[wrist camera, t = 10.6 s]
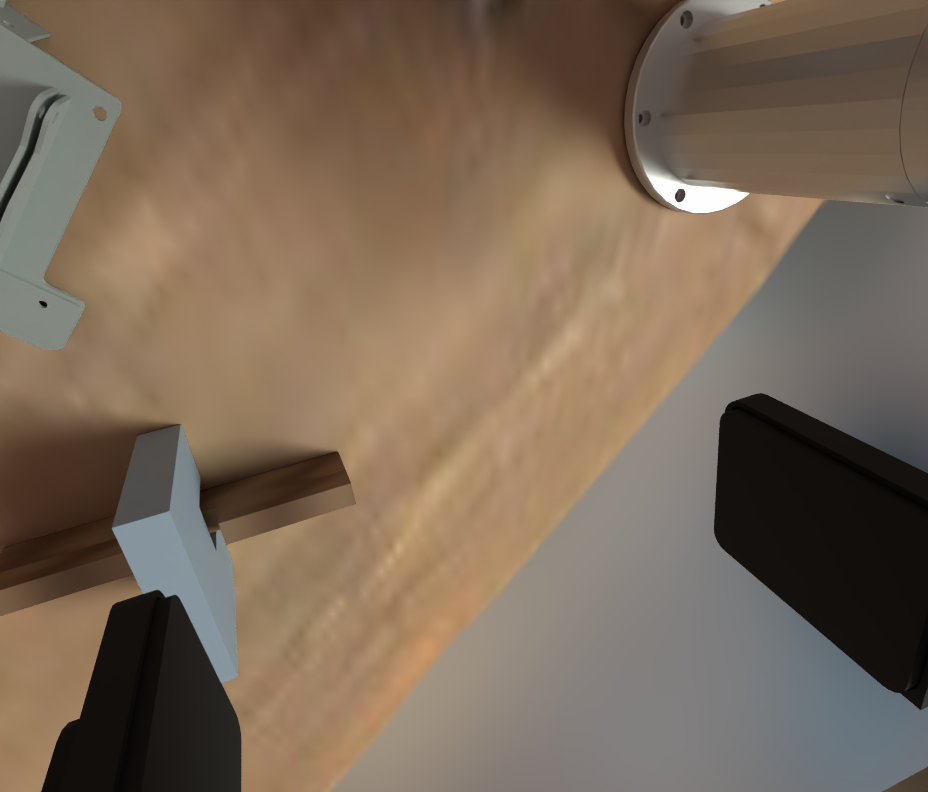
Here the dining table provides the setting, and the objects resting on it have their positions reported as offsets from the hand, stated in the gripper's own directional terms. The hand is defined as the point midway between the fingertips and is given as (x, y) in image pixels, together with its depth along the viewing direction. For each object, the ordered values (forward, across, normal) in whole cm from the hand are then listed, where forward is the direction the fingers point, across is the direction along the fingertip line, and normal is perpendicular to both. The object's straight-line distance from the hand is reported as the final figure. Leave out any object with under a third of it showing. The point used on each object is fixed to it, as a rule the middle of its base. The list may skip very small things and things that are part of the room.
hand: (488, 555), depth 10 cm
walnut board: (+25, +11, +12) cm, 30 cm away
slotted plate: (+25, +11, +12) cm, 30 cm away
